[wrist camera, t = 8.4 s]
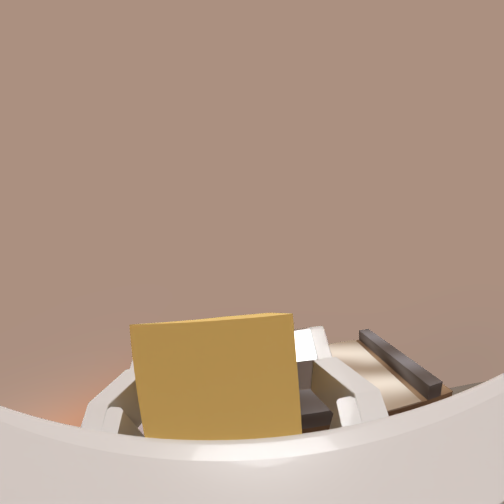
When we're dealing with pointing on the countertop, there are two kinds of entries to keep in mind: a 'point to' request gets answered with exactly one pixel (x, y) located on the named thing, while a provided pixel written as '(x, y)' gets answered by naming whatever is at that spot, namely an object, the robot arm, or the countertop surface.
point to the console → (376, 380)
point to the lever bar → (218, 377)
